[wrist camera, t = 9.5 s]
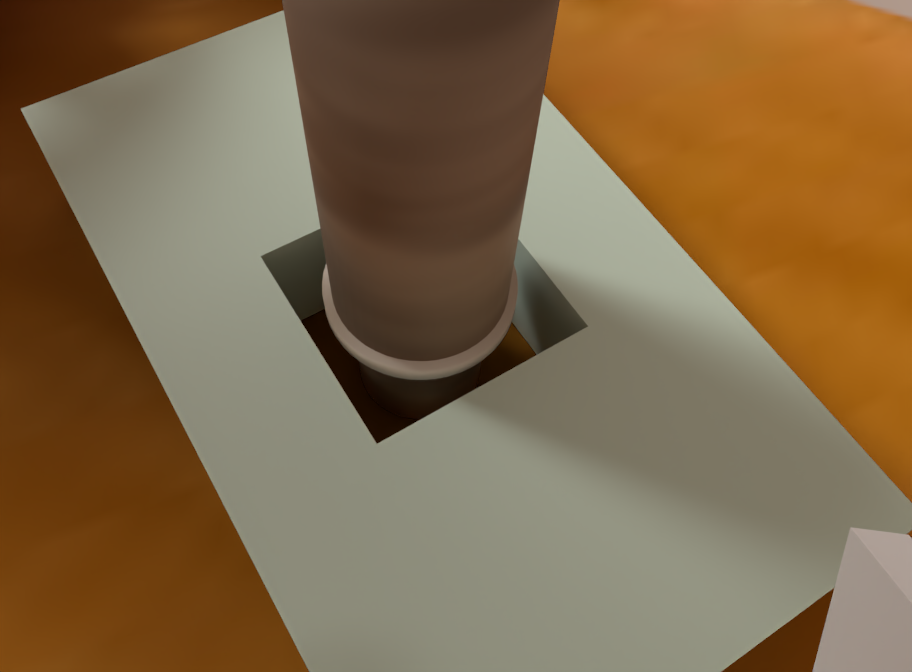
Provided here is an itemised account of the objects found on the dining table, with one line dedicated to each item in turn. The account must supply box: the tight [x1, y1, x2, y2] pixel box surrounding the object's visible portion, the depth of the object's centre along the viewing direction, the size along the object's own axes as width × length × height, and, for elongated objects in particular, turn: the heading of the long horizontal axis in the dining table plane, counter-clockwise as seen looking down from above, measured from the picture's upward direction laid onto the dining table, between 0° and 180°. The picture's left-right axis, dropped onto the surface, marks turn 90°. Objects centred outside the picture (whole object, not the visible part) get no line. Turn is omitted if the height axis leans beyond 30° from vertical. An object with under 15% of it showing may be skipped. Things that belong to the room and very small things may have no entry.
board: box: [21, 10, 912, 672], centre depth 21 cm, size 20×12×4 cm, turn 32°
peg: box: [282, 0, 560, 419], centre depth 17 cm, size 4×4×13 cm
